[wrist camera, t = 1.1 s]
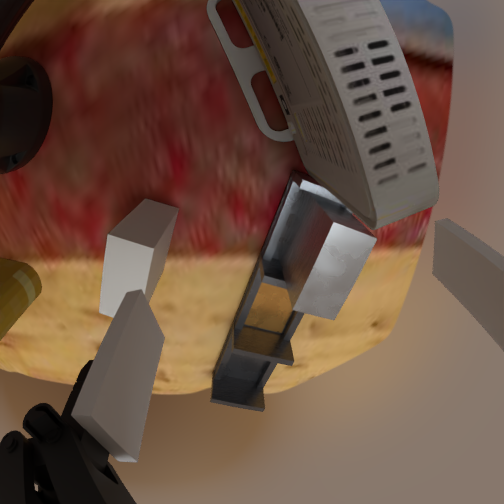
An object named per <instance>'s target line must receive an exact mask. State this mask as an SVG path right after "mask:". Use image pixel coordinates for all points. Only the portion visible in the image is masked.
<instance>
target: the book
mask: <svg viewBox="0 0 504 504" xmlns="http://www.w3.org/2000/svg"><path fill="white" fill-rule="evenodd" d="M41 289H42V286H41V280H40V278H39V276H38V274H37V273H36V271H35V270H34V269H33V268H32V267H31V266H29V265H28V264H26V263H22V262H17V261H13V260H8V259H4V258H0V341H1V339H2V338H3V337H4V336H5V334H6V333H7V332H8V331H9V329H10V328H11V327H12V326H13V324H14V323H15V322H16V321H17V320H18V318H19V317H20V316H21V315H22V314H23V313H24V311H25V310H26V309H27V308H28V307H29V306H30V305H31V303H32V302H33V301H34V300H35V299H36V298H37V297H38V295H39V294H40V293H41Z"/></svg>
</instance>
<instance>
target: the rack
mask: <svg viewBox="0 0 504 504" xmlns="http://www.w3.org/2000/svg"><path fill="white" fill-rule="evenodd" d="M352 213H353V212H352V211H350V210H349V209H348V208H347V207H346V206H345V205H344V204H343V203H341V202H340V201H339V200H338V199H337V198H336V197H335V196H334V195H332V194H331V193H330V192H329V191H328V190H327V189H325V188H324V187H323V186H322V185H321V184H320V183H318V182H317V181H316V180H315V179H314V178H313V177H311V176H308V175H305V174H303V173H300V172H297V171H295V170H292V173H291V175H290V178H289V181H288V183H287V186H286V188H285V191H284V194H283V196H282V199H281V201H280V204H279V206H278V209H277V212H276V214H275V217H274V219H273V222H272V224H271V227H270V230H269V232H268V235H267V237H266V240H265V242H264V245H263V248H262V250H261V253H260V255H259V258H258V260H257V263H256V265H255V268H254V270H253V273H252V276H251V278H250V281H249V283H248V286H247V288H246V291H245V293H244V296H243V298H242V301H241V303H240V306H239V308H238V311H237V314H236V316H235V319H234V321H233V324H232V326H231V329H230V331H229V334H228V336H227V339H226V341H225V344H224V346H223V349H222V351H221V354H220V356H219V359H218V361H217V364H216V366H215V369H214V371H213V374H212V387H211V400H210V402H213V403H218V404H223V405H227V406H233V407H238V408H243V409H249V410H255V411H262V412H263V411H264V409H265V404H264V393H263V387H264V386H265V384H266V382H267V381H268V379H269V377H270V375H271V374H272V372H273V370H274V368H275V367H276V365H277V363H280V364H285V365H290V366H292V364H293V363H294V357H293V352H292V348H291V343H290V339H291V338H292V336H293V334H294V332H295V330H296V328H297V326H298V324H299V323H300V321H301V319H302V317H303V315H304V313H307V314H311V315H315V316H319V317H323V318H327V319H331V320H335V318H336V316H337V314H338V313H339V311H340V309H341V307H342V306H343V304H344V302H345V300H346V298H347V296H348V295H349V293H350V291H351V289H352V287H353V285H354V283H355V282H356V280H357V278H358V276H359V274H360V272H361V270H362V268H363V266H364V264H365V262H366V260H367V258H368V256H369V254H370V252H371V250H372V248H373V246H374V244H375V242H376V240H377V238H376V237H375V236H374V235H373V234H372V233H371V232H370V231H369V230H368V229H367V228H366V227H365V226H364V225H363V224H361V223H360V222H359V221H358V220H357V219H356V218H355V217H354V216H353V215H352Z"/></svg>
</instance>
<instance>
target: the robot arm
mask: <svg viewBox="0 0 504 504" xmlns="http://www.w3.org/2000/svg"><path fill="white" fill-rule="evenodd" d="M33 1H34V0H0V50H1V48H2V47H3V45H4V43H5V42H6V40H7V38H8V37H9V35H10V33H11V32H12V30H13V29H14V27H15V26H16V24H17V23H18V21H19V20H20V19H21V17H22V16H23V14H24V13H25V12H26V10H27V9H28V8H29V6H30V5H31V4H32V2H33ZM51 112H52V92H51V86H50V82H49V79H48V76H47V74H46V72H45V70H44V69H43V68H42V66H41V65H40V64H39V63H38V62H36V61H35V60H33V59H30V58H26V57H20V56H10V57H5V58H2V59H0V174H5V173H8V172H11V171H14V170H17V169H19V168H21V167H23V166H24V165H26V164H27V163H28V162H29V161H30V160H31V159H32V158H33V157H34V156H35V154H36V153H37V152H38V150H39V148H40V147H41V145H42V143H43V141H44V139H45V136H46V134H47V131H48V127H49V123H50V119H51ZM432 273H433V275H434V276H435V277H436V278H437V279H438V280H439V281H440V282H441V283H442V284H443V285H444V286H445V287H446V288H447V289H448V290H449V291H450V292H451V293H452V294H453V295H454V296H455V297H456V298H457V299H458V300H459V302H461V304H462V305H463V306H464V307H465V308H466V309H467V310H468V311H469V312H470V313H471V314H472V315H473V317H474V318H475V319H476V320H477V321H478V322H479V323H480V324H481V325H482V327H483V328H484V329H485V330H486V331H487V332H488V333H489V335H490V336H491V337H492V338H493V339H494V340H495V342H496V343H497V344H498V345H499V346H500V347H501V349H502V350H503V351H504V256H502V255H501V254H500V253H498V252H497V251H496V250H494V249H493V248H491V247H490V246H488V245H487V244H486V243H484V242H483V241H481V240H480V239H478V238H477V237H475V236H474V235H473V234H471V233H469V232H468V231H467V230H465V229H464V228H462V227H461V226H459V225H457V224H456V223H454V222H453V221H451V220H450V219H442V220H438V221H435V238H434V258H433V272H432ZM164 339H165V337H164V335H163V333H162V331H161V329H160V327H159V325H158V323H157V321H156V318H155V316H154V314H153V312H152V310H151V308H150V306H149V304H148V301H147V299H146V297H145V295H144V293H143V290H142V289H139V290H135V291H130V292H126V294H125V296H124V298H123V300H122V302H121V304H120V306H119V308H118V310H117V312H116V314H115V316H114V318H113V320H112V322H111V324H110V326H109V329H108V331H107V333H106V335H105V337H104V339H103V341H102V343H101V346H100V348H99V350H98V352H97V354H96V356H95V359H94V360H89V361H88V362H87V364H86V365H85V366H84V367H83V368H82V369H81V371H80V373H79V375H78V378H77V380H76V381H77V382H75V384H74V387H73V391H72V392H71V394H70V396H69V398H68V401H67V403H66V405H65V408H64V410H63V413H62V415H61V416H60V415H59V414H58V413H57V412H56V411H55V410H54V409H53V407H52V406H50V405H49V404H47V403H40V404H38V405H36V406H34V407H33V408H31V409H30V410H29V411H28V413H27V414H26V415H25V417H24V420H23V428H24V429H25V430H26V432H28V433H29V434H30V435H31V436H32V437H33V438H29V439H27V438H25V436H24V435H23V434H22V433H21V432H18V431H11V432H9V433H7V434H6V435H5V436H4V437H3V439H2V441H1V442H0V504H136V502H135V501H134V499H133V498H132V496H131V495H130V493H129V492H128V490H127V489H126V487H125V486H124V484H123V483H122V481H121V480H120V478H119V476H118V475H117V473H116V471H115V470H114V468H113V466H112V465H111V464H110V463H109V462H108V457H109V453H110V454H111V455H112V456H113V457H114V458H115V459H117V460H118V461H123V462H138V457H139V452H140V446H141V441H142V436H143V431H144V426H145V421H146V416H147V411H148V406H149V402H150V397H151V393H152V389H153V384H154V380H155V376H156V372H157V367H158V363H159V359H160V355H161V351H162V347H163V343H164ZM34 483H35V484H36V485H38V492H37V491H36V490H35V486H34Z"/></svg>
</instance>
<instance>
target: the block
mask: <svg viewBox="0 0 504 504" xmlns="http://www.w3.org/2000/svg"><path fill="white" fill-rule="evenodd" d="M178 211H179V208H176V207H173V206H170V205H166V204H163V203H159V202H156V201H153V200H149V199H146V198H145V199H144V200H143V201H142V202H141V203H140V204H139V205H138V206H137V207H136V208H135V209H133V210H132V211H131V212H130V213H129V214H128V215H127V216H126V217H125V218H124V219H123V220H122V221H121V222H120V223H119V224H118V225H117V226H116V227H115V228H114V229H113V230H112V231H111V232H110V233H108V236H107V243H106V250H105V258H104V266H103V275H102V285H101V296H100V308H99V313H102V314H105V315H107V316H110V317H113V318H114V316H115V314H116V312H117V310H118V308H119V306H120V304H121V302H122V300H123V298H124V296H125V294H126V292H130V291H135V290H139V289H142V290H143V293H144V295H145V297H146V299H147V301H148V304H149V302H150V299H151V297H152V295H153V292H154V290H155V288H156V286H157V283H158V281H159V279H160V277H161V275H162V272H163V270H164V266H165V262H166V258H167V253H168V249H169V245H170V241H171V238H172V234H173V230H174V226H175V222H176V218H177V215H178Z"/></svg>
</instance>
